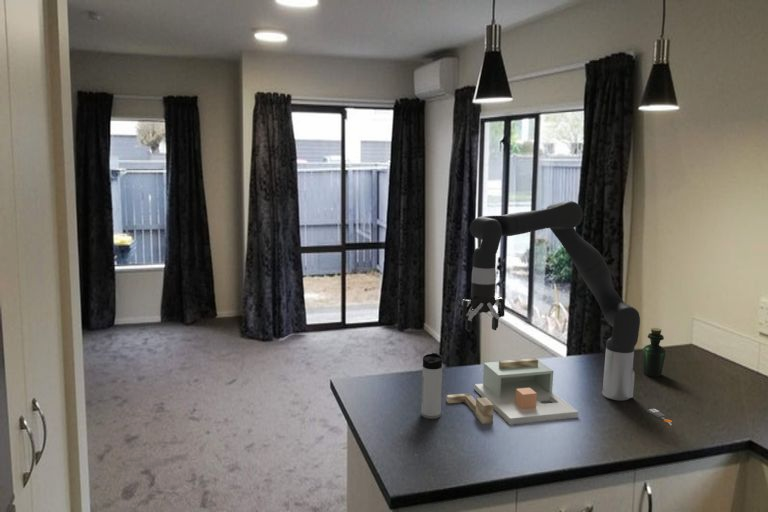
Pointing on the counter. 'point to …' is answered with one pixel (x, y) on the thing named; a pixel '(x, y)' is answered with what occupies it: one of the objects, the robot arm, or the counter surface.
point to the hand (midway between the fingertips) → (481, 330)
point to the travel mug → (431, 386)
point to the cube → (526, 398)
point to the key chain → (658, 415)
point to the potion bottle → (654, 354)
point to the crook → (475, 406)
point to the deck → (539, 378)
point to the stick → (518, 363)
